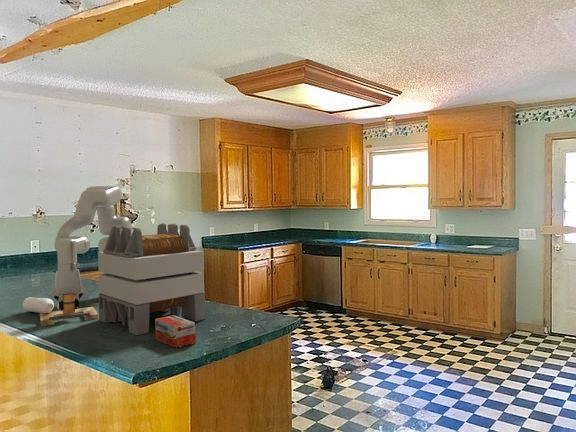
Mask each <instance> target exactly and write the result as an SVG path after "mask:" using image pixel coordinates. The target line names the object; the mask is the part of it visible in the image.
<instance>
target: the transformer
mask: <svg viewBox="0 0 576 432" xmlns="http://www.w3.org/2000/svg"><path fill="white" fill-rule="evenodd" d="M121 228H123V229H122V232H121V235H120V227H119V226H115V227H112V229H111V232H110V234H109V235H108V236H107V237H108V240H107V243H106V246H105V249H104V250H103V252H99V251H98V252H97V261H98V262H97V263H98V264H97V265H98V272H100V274H98V321H99V322H103V323H111V322H112V323H113V322H114V323H117V322H119V323H120V322H121V324H122V326H123V327H124V326H128V332H129V334H133V335H135V336H140V335H143V334H147V333H149V332H150V313H153V312H154V313H155V312H158V311H161V312H163V313H167V312H169V314H171V315H172V316H173V315H174V316H177V317H179V316H180V314H181V318H184V319H187V320H190V321H192V322H199V321H203V320H206V319H207V313H206V311H207V310H206V293H205V282H204V273H203V272H201V271H204V270H205V252H204V250H197V249H198V248H197V246H196V245H195V243H194V240H193V239H192V237H191V234H190V228H189V226H188V225H186V224H180V225H179V226H178V224H176V223H169V224H168V225H167V224H166V223H164V222H162V223H160V224H158V225H157V227H156V228H157V229H156V232H157V233H156V234H147V235H146V234H143V233H142V229H140V228H136V227H132V235H131V228H128V227H121ZM101 272H104V273H105V274H101Z"/></svg>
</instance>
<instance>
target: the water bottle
mask: <svg viewBox="0 0 576 432" xmlns="http://www.w3.org/2000/svg"><path fill="white" fill-rule="evenodd" d="M21 306H22V309H23V310H24V311H26V312H32V313H39V314H40V313H49V312H53V311H54V310H53V309H54V307H55V303H54V301H53V300H52V299H51V298H47V297H46V298H45V297H34V296H32V297H31V296H28V297H26V298H25V299H24V300H23V302H22V305H21ZM56 307H57V309H58V310H60V309H59V303H58V304H57V305H56Z"/></svg>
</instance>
